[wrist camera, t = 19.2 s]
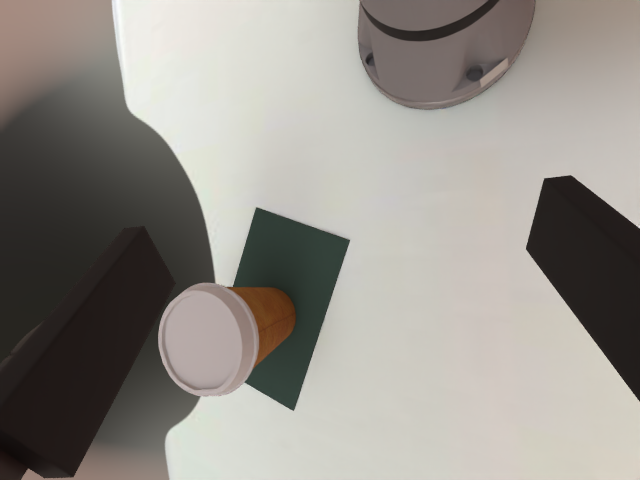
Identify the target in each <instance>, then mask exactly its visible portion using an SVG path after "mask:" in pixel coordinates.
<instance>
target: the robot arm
mask: <svg viewBox="0 0 640 480" xmlns="http://www.w3.org/2000/svg"><path fill="white" fill-rule="evenodd" d="M359 1H360V5H359V20H358V45H359V52H360V56H361V60H362V63H363V65H364V67H365V70H366V72H367V74H368V76H369V78H370V79H371V81H372V82H373V84H374V85H375V86H376V88H377V89H378V90H379V91H380V92H381V93H382V94H384V95H385V96H386V97H388V98H389V99H391V100H392V101H394V102H396V103H398V104H401V105H404V106H407V107H411V108H417V109H439V108H445V107H449V106H454V105H457V104H459V103H462V102H465V101H467V100H469V99H471V98H473V97H475V96H477V95H479V94H480V93H482V92H483V91H485V90H486V89H488V88H489V87H490V86H492V85H493V84H494V83H495V82H496V81H497V80H499V79H500V78H501V77H502V76H503V75H504V73H505V72H506V71H507V70H508V69H509V68H510V66H511V65H512V64H513V63H514V61H515V59H516V58H517V56H518V55H519V53H520V51H521V49H522V47H523V45H524V43H525V40H526V38H527V35H528V32H529V29H530V26H531V23H532V20H533V15H534V9H535V0H359ZM526 250H527V251H528V253H529V254H530V255H531V257H532V258H533V259H534V261H535V262H536V263H537V265H538V266H539V267H540V269H541V270H542V271H543V273H544V274H545V275H546V277H547V278H548V279H549V281H550V282H551V283H552V285H553V286H554V287H555V289H556V290H557V292H558V293H559V294H560V296H561V297H562V298H563V300H564V301H565V302H566V304H567V305H568V306H569V308H570V309H571V310H572V312H573V313H574V314H575V316H576V317H577V318H578V320H579V321H580V322H581V324H582V325H583V326H584V328H585V329H586V330H587V332H588V333H589V334H590V336H591V337H592V338H593V340H594V341H595V342H596V344H597V345H598V346H599V348H600V349H601V350H602V352H603V353H604V354H605V356H606V357H607V358H608V360H609V361H610V362H611V364H612V365H613V366H614V368H615V369H616V370H617V372H618V373H619V375H620V376H621V377H622V379H623V380H624V381H625V383H626V384H627V385H628V387H629V388H630V389H631V391H632V392H633V393H634V395H635V396H636V397H637V399H638V400H639V401H640V229H639V228H638V227H637V226H636V225H634V224H633V223H632V222H630V221H629V220H628V219H627V218H625V217H624V216H623V215H621V214H620V213H619V212H618V211H616V210H615V209H614V208H612V207H611V206H610V205H609V204H607V203H606V202H605V201H603V200H602V199H601V198H600V197H598V196H597V195H596V194H594V193H593V192H592V191H591V190H589V189H588V188H587V187H585V186H584V185H583V184H582V183H580V182H579V181H578V180H576V179H575V178H574V177H573V176H571V175H570V176H561V177H553V178H544V181H543V185H542V189H541V193H540V197H539V200H538V204H537V208H536V212H535V216H534V220H533V223H532V227H531V231H530V235H529V239H528V243H527V246H526ZM175 284H176V283H175V281H174V279H173V277H172V276H171V274H170V272H169V270H168V268H167V266H166V265H165V263H164V261H163V259H162V257H161V256H160V254H159V252H158V251H157V249H156V247H155V245H154V243H153V241H152V239H151V238H150V236H149V234H148V232H147V230H146V229H145V227H144V226H140V227H132V228H124V229H123V230H122V231H121V232H120V233H119V235H118V236H117V237H116V238H115V239H114V240H113V241H112V243H111V244H110V245H109V246H108V247H107V248H106V250H105V251H104V252H103V253H102V254H101V255H100V256H99V258H98V259H97V260H96V261H95V262H94V263H93V265H92V266H91V267H90V268H89V269H88V270H87V272H86V273H85V274H84V275H83V276H82V277H81V278H80V280H79V281H78V282H77V283H76V284H75V285H74V287H73V288H72V289H71V290H70V291H69V292H68V293H67V295H66V296H65V297H64V298H63V299H62V300H61V302H60V303H59V304H58V305H57V306H56V307H55V308H54V310H53V311H52V312H51V313H50V314H49V316H48V317H47V318H46V319H45V320H44V321H43V322H42V323H41V324H39V325H38V326H37V327H36V328H34V329H33V330H32V331H31V332H29V333H28V334H27V335H25V337H23V339H22V340H21V341H20V342H19V343H18V344H17V345H16V347H15V348H14V349H13V350H12V351H11V352H10V356H9V357H6V358H5V359H4V360H3V361H2V362H1V364H0V480H21V479H22V477H23V475H24V474H25V472H26V470H27V469H28V468H29V469H30V470H32V471H34V472H35V473H37V474H39V475H40V476H42V477H43V478H63V477H64V478H65V477H74V475H75V473H76V471H77V469H78V467H79V465H80V463H81V462H82V460H83V458H84V456H85V454H86V452H87V450H88V448H89V447H90V445H91V443H92V441H93V439H94V437H95V435H96V433H97V431H98V429H99V427H100V426H101V424H102V422H103V420H104V418H105V416H106V414H107V412H108V411H109V409H110V407H111V405H112V403H113V401H114V399H115V397H116V395H117V394H118V392H119V390H120V388H121V386H122V384H123V382H124V380H125V378H126V376H127V375H128V373H129V371H130V369H131V367H132V365H133V363H134V361H135V359H136V357H137V356H138V354H139V352H140V350H141V348H142V346H143V344H144V342H145V340H146V339H147V337H148V334H149V333H150V331H151V329H152V327H153V325H154V323H155V321H156V320H157V318H158V316H159V314H160V312H161V310H162V308H163V306H164V305H165V302H166V300H167V299H168V297H169V295H170V293H171V291H172V289H173V287H174V286H175Z"/></svg>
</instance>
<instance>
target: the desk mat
mask: <svg viewBox="0 0 640 480" xmlns="http://www.w3.org/2000/svg"><path fill="white" fill-rule="evenodd" d="M349 241H350V240H347V239H345V238H342V237H339V236H336V235H333V234H330V233H328V232H325V231H322V230H319V229H316V228H313V227H310V226H308V225H305V224H302V223H299V222H296V221H293V220H290V219H288V218H285V217H282V216H279V215H276V214H273V213H270V212H268V211H265V210H262V209H259V208H256V210H255V213H254V217H253V220H252V224H251V227H250V230H249V234H248V237H247V240H246V244H245V247H244V251H243V254H242V257H241V261H240V264H239V268H238V271H237V274H236V278H235V281H234V285H233V287H272V288H277V289H279V290H281V291H283V292H284V293H285V294H287V295H288V297H289V298H290V299H291V301H292V303H293V305H294V308H295V313H296V322H295V326H294V328H293V331H292V332H291V334H290V335H289V336H288V337H287V338H286V339H285V340H284V341H283V342H281V343H280V344H279V345H278V346H277V347H276V348H275V349H274V350H273V351H272V352H270V353H269V354H268V355H267V356H266V357H265V358H264V359H263V360H262V361H261V362H260V363H259V364H258V365H256V366H255V367H254V368H253V369H252V372H251V373H250V375H249V377H248V378H247V380H246V381H245V383H246V384H248V385H250V386H252V387H253V388H255V389H257V390H258V391H260V392H262V393H264V394H265V395H267V396H269V397H271V398H272V399H274V400H276V401H277V402H279V403H281V404H283V405H284V406H286V407H288V408H289V409H291V410H293V411H294V409H295V406H296V402H297V399H298V396H299V393H300V390H301V387H302V384H303V381H304V378H305V375H306V372H307V369H308V366H309V363H310V360H311V357H312V354H313V351H314V348H315V345H316V342H317V338H318V335H319V332H320V329H321V326H322V323H323V320H324V317H325V314H326V311H327V308H328V305H329V302H330V299H331V296H332V293H333V290H334V287H335V284H336V281H337V278H338V274H339V271H340V268H341V265H342V262H343V259H344V256H345V253H346V250H347V247H348V244H349Z"/></svg>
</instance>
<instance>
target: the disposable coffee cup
mask: <svg viewBox="0 0 640 480" xmlns="http://www.w3.org/2000/svg"><path fill="white" fill-rule="evenodd" d="M295 322H296V313H295V308H294V305H293V303H292V301H291V299H290V298H289V297H288V295H287V294H285V293H284V292H283V291H281V290H279V289H277V288H272V287H225V286H222V285H219V284H214V283H201V284H196V285H194V286H191V287H189V288H188V289H186V290H185V291H183V292H182V293H181V294H180V295H179V296H177V297H176V298H175V299H174V300H173V301H172V302H171V303H170V304H169V306H168V307H167V308H166V310H165V312H164V314H163V316H162V319H161V322H160V327H159V334H158V337H159V350H160V354H161V358H162V361H163V364H164V366H165V368H166V370H167V372H168V373H169V375H170V377H171V378H172V379H173V380H174V381H175V383H176V384H177V385H179V386H180V387H181V388H182V389H184V390H185V391H187V392H189V393H192V394H194V395H197V396H221V395H226V394H229V393H231V392H233V391H235V390H236V389H237V388H239V387H240V386H241V385H242V384H243V383H244V382H245V381H246V380H247V378H248V377H249V375H250V373H251V372H252V369H253V368H254V367H255V366H256V365H258V364H259V363H260V362H261V361H262V360H263V359H264V358H265V357H266V356H267V355H268V354H269V353H270V352H272V351H273V350H274V349H275V348H276V347H277V346H278V345H279V344H280V343H281V342H283V341H284V340H285V339H286V338H287V337H288V336H289V335H290V334H291V332H292V331H293V328H294V326H295Z"/></svg>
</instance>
